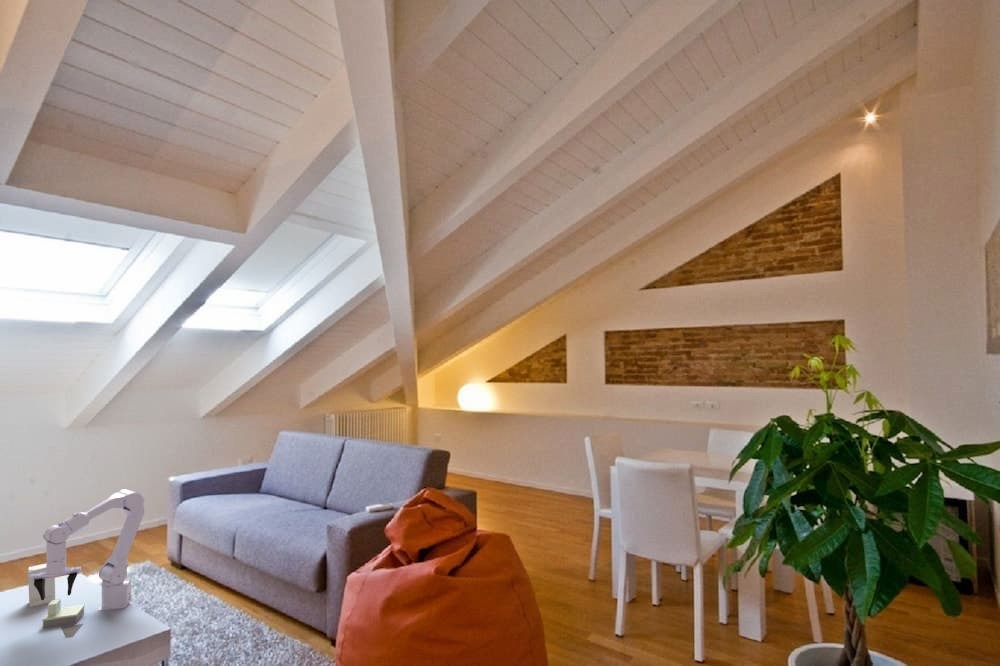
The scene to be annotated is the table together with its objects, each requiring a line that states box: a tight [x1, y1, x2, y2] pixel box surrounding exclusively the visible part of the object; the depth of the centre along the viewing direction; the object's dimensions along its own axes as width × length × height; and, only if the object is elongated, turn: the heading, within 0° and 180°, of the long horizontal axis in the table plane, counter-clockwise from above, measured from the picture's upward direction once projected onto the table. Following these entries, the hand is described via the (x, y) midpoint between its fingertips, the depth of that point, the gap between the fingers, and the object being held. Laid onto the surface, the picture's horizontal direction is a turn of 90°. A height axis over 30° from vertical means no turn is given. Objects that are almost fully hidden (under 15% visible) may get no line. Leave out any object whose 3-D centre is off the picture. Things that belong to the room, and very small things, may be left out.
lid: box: [41, 598, 86, 622], centre depth 208 cm, size 10×8×5 cm
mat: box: [60, 623, 84, 639], centre depth 198 cm, size 12×10×1 cm
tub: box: [42, 607, 85, 629], centre depth 208 cm, size 10×8×3 cm
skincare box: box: [27, 563, 56, 608], centre depth 223 cm, size 8×6×15 cm
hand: (56, 596), depth 205 cm, fingers open, 7 cm apart
